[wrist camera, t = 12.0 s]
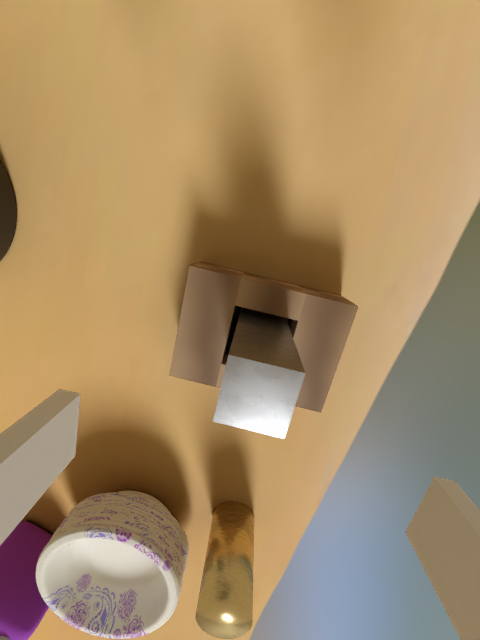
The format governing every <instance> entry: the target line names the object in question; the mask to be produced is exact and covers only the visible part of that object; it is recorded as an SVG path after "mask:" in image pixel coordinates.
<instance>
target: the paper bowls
mask: <svg viewBox="0 0 480 640" xmlns="http://www.w3.org/2000/svg"><path fill="white" fill-rule="evenodd" d="M188 551H189V544H188V540H187V536H186V534H185V532H184V531H183V529H182V527H181V526H180V524H179V522H178V521H177V520H176V519H175V518H174V517H172V515H171V513H170V512H169V510H168V509H167V508H166V507H165V506H164V505H163V504H162V503H161V502H160V501H159V500H157V499H156V498H154V497H153V496H151V495H148V494H146V493H142V492H138V491H119V492H111V493H110V492H109V493H101V494H96V495H93V496H90V497H87V498H86V499H84V500H83V501H81V502H79V503H78V504H77V505H76V506H75V507H74V508H73V509H72V510H71V511H70V512H69V513H68V515H67V516H66V517H65V519H64V520H63V521H62V523H61V524H60V526H59V527H58V528H57V530H56V531H55V532H54V534H53V536H52V537H51V539H50V541H49V542H48V543H47V545H46V546H45V547H44V549H43V551H42V552H41V554H40V556H39V559H38V562H37V566H36V583H37V587H38V589H39V592H40V594H41V596H42V598H43V600H44V602H45V603H46V604H47V606H48V607H49V608H50V609H51V610H52V611H53V612H54V613H55V614H56V615H57V616H58V617H59V618H61V619H62V620H63V621H65V622H66V623H68V624H69V625H71V626H73V627H75V628H77V629H79V630H81V631H84V632H86V633H89V634H92V635H96V636H100V637H105V638H113V639H127V638H136V637H140V636H143V635H146V634H149V633H151V632H153V631H155V630H156V629H158V628H159V627H161V626H162V625H163V624H164V623H165V622H166V621H167V620H168V619H169V618H170V617H171V615H172V614H173V612H174V610H175V609H176V606H177V604H178V599H179V595H180V591H181V586H182V582H183V577H184V572H185V568H186V564H187V558H188Z"/></svg>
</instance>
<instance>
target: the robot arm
mask: <svg viewBox="0 0 480 640" xmlns="http://www.w3.org/2000/svg"><path fill="white" fill-rule="evenodd" d="M15 228H16V203H15V197H14V193H13V189H12V186H11V183H10V180H9V177H8V175H7V173H6V171H5V169H4V167H3V165H2V163H1V161H0V261H1V260H2V258H3V257H4V256H5V254H6V253H7V251H8V250H9V247H10V245H11V243H12V240H13V237H14V233H15ZM80 395H81V394H79V393H75V392H70V391H66V390H62V389H59V390H58V391H56V392H55V393H54V394H52V395H51V396H50V397H48V398H47V399H46V400H44V401H43V402H42V403H41V404H39V405H38V406H37V407H35V408H34V409H33V410H31V411H30V412H29V413H27V414H26V415H25V416H23V417H22V418H21V419H19V420H18V421H17V422H16V423H14V424H13V425H12V426H10V427H9V428H8V429H6V430H5V431H4V432H2V433H1V434H0V546H1V544H2V543H3V542H4V541H5V540H6V538H7V537H8V536H9V535H10V534H11V532H12V531H13V530H14V529H15V528H16V526H17V525H18V524H19V523H20V522H21V520H22V519H23V518H24V517H25V516H26V514H27V513H28V512H29V511H30V510H31V508H32V507H33V506H34V505H35V504H36V502H37V501H38V500H39V499H40V498H41V496H42V495H43V494H44V493H45V492H46V490H47V489H48V488H49V487H50V486H51V484H52V483H53V482H54V481H55V480H56V478H57V477H58V476H59V475H60V474H61V473H62V471H63V470H64V469H65V468H66V467H67V465H68V464H69V463H70V462H71V461H72V459H73V458H74V457H75V454H76V442H77V431H78V419H79V407H80ZM406 534H407V536H408V538H409V540H410V542H411V544H412V546H413V548H414V550H415V551H416V554H417V555H418V557H419V559H420V561H421V563H422V565H423V567H424V569H425V571H426V573H427V575H428V577H429V579H430V581H431V583H432V585H433V587H434V589H435V591H436V593H437V594H438V596H439V598H440V600H441V602H442V604H443V606H444V608H445V610H446V612H447V614H448V616H449V618H450V620H451V622H452V624H453V626H454V628H455V629H456V631H457V633H458V635H459V637H460V639H461V640H480V511H479V510H478V508H477V507H476V506H475V505H474V504H473V503H472V501H471V500H470V499H469V498H468V497H467V495H466V494H465V493H464V492H463V490H462V489H461V488H460V487H459V485H458V484H457V483H456V482H455V481H452V480H447V479H443V478H439V477H434V479H433V481H432V482H431V484H430V486H429V488H428V490H427V492H426V494H425V496H424V498H423V500H422V501H421V503H420V505H419V507H418V509H417V511H416V513H415V515H414V517H413V519H412V521H411V522H410V524H409V526H408V528H407V530H406Z"/></svg>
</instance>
